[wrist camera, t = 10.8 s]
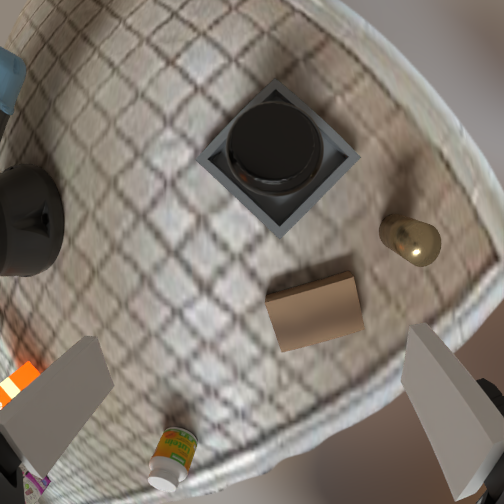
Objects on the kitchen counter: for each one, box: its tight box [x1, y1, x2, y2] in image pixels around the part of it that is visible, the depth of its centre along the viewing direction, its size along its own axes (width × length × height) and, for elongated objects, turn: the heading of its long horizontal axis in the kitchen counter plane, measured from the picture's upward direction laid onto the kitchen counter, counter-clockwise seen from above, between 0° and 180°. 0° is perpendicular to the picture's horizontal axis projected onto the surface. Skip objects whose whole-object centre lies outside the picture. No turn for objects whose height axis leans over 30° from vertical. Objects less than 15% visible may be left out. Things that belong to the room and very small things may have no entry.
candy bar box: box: [19, 463, 51, 504], centre depth 43 cm, size 11×5×16 cm, turn 178°
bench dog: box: [379, 214, 441, 267], centre depth 25 cm, size 4×4×7 cm
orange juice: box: [0, 361, 40, 410], centre depth 30 cm, size 8×9×20 cm
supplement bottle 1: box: [148, 427, 197, 492], centre depth 33 cm, size 5×5×10 cm
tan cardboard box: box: [265, 271, 365, 352], centre depth 30 cm, size 6×9×2 cm, turn 108°
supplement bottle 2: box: [226, 101, 324, 197], centre depth 22 cm, size 7×7×12 cm
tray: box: [196, 78, 361, 239], centre depth 27 cm, size 11×11×2 cm
